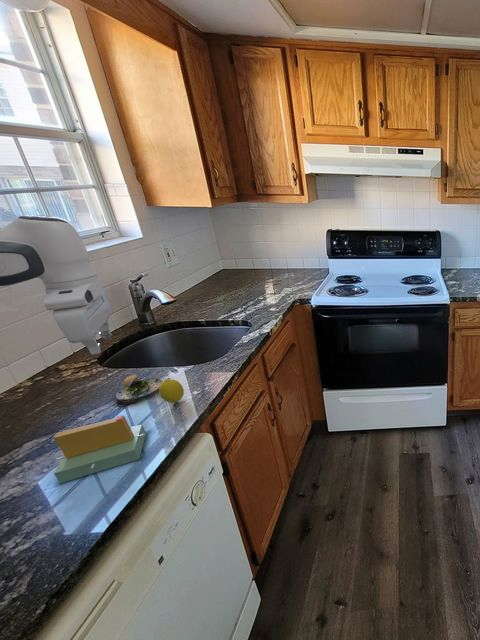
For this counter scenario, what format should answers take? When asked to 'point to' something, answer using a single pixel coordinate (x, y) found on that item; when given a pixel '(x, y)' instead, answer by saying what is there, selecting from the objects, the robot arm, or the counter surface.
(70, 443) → the mustard yellow rectangular block
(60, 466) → the panel
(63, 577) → the counter surface
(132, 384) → the plate of food
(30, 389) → the counter surface
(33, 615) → the counter surface
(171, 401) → the lemon
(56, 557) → the counter surface
